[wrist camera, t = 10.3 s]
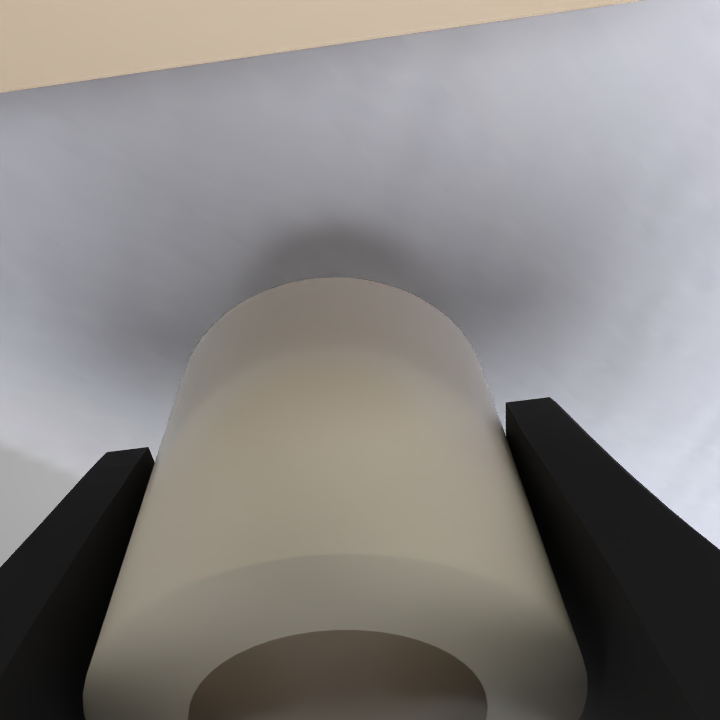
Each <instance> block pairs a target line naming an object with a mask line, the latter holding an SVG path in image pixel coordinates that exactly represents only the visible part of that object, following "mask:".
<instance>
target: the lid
mask: <svg viewBox="0 0 720 720" xmlns="http://www.w3.org/2000/svg"><path fill="white" fill-rule="evenodd" d="M635 1H642V0H0V93H2V92H9V91H16V90H23V89H30V88H37V87H44V86H51V85H58V84H65V83H72V82H79V81H86V80H93V79H100V78H107V77H114V76H121V75H128V74H135V73H141V72H148V71H155V70H162V69H169V68H176V67H183V66H190V65H197V64H204V63H211V62H218V61H225V60H232V59H239V58H246V57H253V56H260V55H267V54H274V53H280V52H287V51H294V50H301V49H308V48H315V47H322V46H329V45H336V44H343V43H350V42H357V41H364V40H371V39H378V38H385V37H392V36H399V35H406V34H413V33H420V32H426V31H433V30H440V29H447V28H454V27H461V26H468V25H475V24H482V23H489V22H496V21H503V20H510V19H517V18H524V17H531V16H538V15H545V14H552V13H559V12H565V11H572V10H579V9H586V8H593V7H600V6H607V5H614V4H621V3H628V2H635Z"/></svg>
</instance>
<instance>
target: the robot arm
mask: <svg viewBox="0 0 720 720" xmlns="http://www.w3.org/2000/svg"><path fill="white" fill-rule="evenodd" d="M506 438H507V441H508V444H509V447H510V450H511V453H512V456H513V459H514V461H515V464H516V467H517V470H518V473H519V476H520V479H521V482H522V484H523V487H524V490H525V493H526V496H527V499H528V502H529V504H530V507H531V510H532V513H533V516H534V519H535V522H536V525H537V527H538V530H539V533H540V536H541V539H542V542H543V545H544V548H545V550H546V553H547V556H548V559H549V562H550V565H551V568H552V571H553V573H554V576H555V579H556V582H557V585H558V588H559V591H560V594H561V596H562V599H563V602H564V605H565V608H566V611H567V614H568V617H569V619H570V622H571V625H572V628H573V631H574V634H575V637H576V640H577V642H578V645H579V648H580V651H581V654H582V657H583V661H584V665H585V668H586V672H587V696H586V701H585V705H584V710H583V712H582V714H581V717H580V719H579V720H720V549H718V548H717V547H716V546H715V545H713V544H712V543H711V542H709V541H708V540H707V539H706V538H704V537H703V536H702V535H701V534H699V533H698V532H697V531H696V530H694V529H693V528H692V527H691V526H690V525H688V524H687V523H686V522H685V521H684V520H682V519H681V518H680V517H679V516H678V515H676V514H675V513H674V512H673V511H672V510H670V509H669V508H668V507H667V506H666V505H665V504H664V503H662V502H661V501H660V500H659V499H658V498H657V497H656V496H654V495H653V494H652V493H651V492H650V491H649V490H648V489H647V488H645V487H644V486H643V485H642V484H641V483H640V482H639V481H637V480H636V479H635V478H634V477H633V476H632V475H631V474H630V473H629V472H627V471H626V470H625V469H624V468H623V467H622V466H621V465H620V464H619V463H618V462H617V461H616V460H614V459H613V458H612V457H611V456H610V455H609V454H608V453H607V452H606V451H605V450H604V449H603V448H602V447H601V446H600V445H599V444H598V443H597V442H596V441H595V440H594V439H593V438H592V437H590V436H589V435H588V434H587V433H586V432H585V431H584V430H583V429H582V428H581V427H580V426H579V425H578V424H577V423H576V422H575V421H574V420H573V419H572V418H571V417H570V416H569V415H568V414H567V413H566V412H565V411H564V410H563V409H562V408H561V407H560V406H559V405H558V404H557V403H556V402H555V401H554V400H552V399H551V398H550V397H547V398H539V399H531V400H523V401H515V402H507V403H506ZM154 464H155V462H154V460H153V457H152V455H151V452H150V450H149V447H145V448H137V449H129V450H121V451H113V452H107V453H106V454H105V455H104V456H103V457H102V458H101V459H100V460H99V461H98V462H97V463H96V464H95V465H94V466H93V467H92V468H91V469H90V470H89V471H88V472H87V473H86V474H85V476H84V477H83V478H82V479H81V480H80V481H79V482H78V483H77V484H76V485H75V487H74V488H73V489H72V490H71V491H70V492H69V493H68V494H67V495H66V496H65V498H64V499H63V500H62V501H61V502H60V503H59V504H58V506H57V507H56V508H55V509H54V510H53V511H52V512H51V513H50V514H49V515H48V516H47V517H46V519H45V520H44V521H43V522H42V523H41V524H40V525H39V526H38V527H37V528H36V530H35V531H34V532H33V533H32V534H31V535H30V536H29V537H28V538H27V539H26V540H25V541H24V542H23V544H22V545H21V546H20V547H19V548H18V549H17V550H16V551H15V552H14V553H13V554H12V555H11V557H10V558H9V559H8V560H7V561H6V562H5V563H4V564H3V565H2V566H1V567H0V720H86V719H85V716H84V709H83V690H84V685H85V680H86V675H87V672H88V669H89V666H90V663H91V659H92V656H93V653H94V650H95V647H96V644H97V641H98V638H99V635H100V631H101V628H102V625H103V622H104V619H105V616H106V613H107V610H108V607H109V604H110V600H111V597H112V594H113V591H114V588H115V585H116V582H117V579H118V576H119V573H120V569H121V566H122V563H123V560H124V557H125V554H126V551H127V548H128V545H129V541H130V538H131V535H132V532H133V529H134V526H135V523H136V520H137V517H138V514H139V510H140V507H141V504H142V501H143V498H144V495H145V492H146V489H147V486H148V483H149V479H150V476H151V473H152V470H153V467H154Z"/></svg>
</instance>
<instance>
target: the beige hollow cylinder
mask: <svg viewBox="0 0 720 720" xmlns="http://www.w3.org/2000/svg"><path fill="white" fill-rule="evenodd" d="M586 696H587V672H586V668H585V665H584V661H583V657H582V654H581V651H580V648H579V645H578V642H577V640H576V637H575V634H574V631H573V628H572V625H571V622H570V619H569V617H568V614H567V611H566V608H565V605H564V602H563V599H562V596H561V594H560V591H559V588H558V585H557V582H556V579H555V576H554V573H553V571H552V568H551V565H550V562H549V559H548V556H547V553H546V550H545V548H544V545H543V542H542V539H541V536H540V533H539V530H538V527H537V525H536V522H535V519H534V516H533V513H532V510H531V507H530V504H529V502H528V499H527V496H526V493H525V490H524V487H523V484H522V482H521V479H520V476H519V473H518V470H517V467H516V464H515V461H514V459H513V456H512V453H511V450H510V447H509V444H508V441H507V438H506V436H505V433H504V430H503V427H502V424H501V421H500V418H499V415H498V413H497V410H496V407H495V404H494V401H493V398H492V395H491V392H490V390H489V387H488V384H487V381H486V378H485V375H484V372H483V369H482V367H481V364H480V361H479V359H478V357H477V355H476V353H475V351H474V349H473V347H472V345H471V344H470V342H469V341H468V340H467V338H466V337H465V335H464V334H463V332H462V331H461V330H460V329H459V328H458V327H457V326H456V325H455V324H454V323H453V322H452V321H451V320H450V319H449V318H448V317H447V316H446V315H444V314H443V313H442V312H441V311H439V310H438V309H437V308H436V307H434V306H433V305H431V304H429V303H428V302H426V301H424V300H422V299H421V298H419V297H417V296H415V295H413V294H411V293H408V292H406V291H404V290H401V289H399V288H397V287H393V286H390V285H386V284H383V283H379V282H375V281H369V280H363V279H356V278H340V277H327V278H314V279H306V280H301V281H296V282H291V283H286V284H283V285H280V286H277V287H274V288H271V289H268V290H265V291H263V292H261V293H259V294H256V295H254V296H252V297H250V298H248V299H246V300H244V301H243V302H241V303H240V304H238V305H237V306H235V307H234V308H232V309H231V310H229V311H228V312H227V313H225V314H224V315H223V316H222V317H221V318H220V319H219V320H217V321H216V322H215V323H214V324H213V325H212V326H211V327H210V329H209V330H208V331H207V332H206V333H205V334H204V336H203V337H202V338H201V339H200V341H199V342H198V344H197V346H196V347H195V349H194V351H193V352H192V354H191V356H190V359H189V361H188V363H187V366H186V368H185V371H184V374H183V377H182V380H181V383H180V386H179V389H178V393H177V396H176V399H175V402H174V405H173V408H172V411H171V414H170V417H169V420H168V424H167V427H166V430H165V433H164V436H163V439H162V442H161V445H160V448H159V451H158V455H157V458H156V461H155V464H154V467H153V470H152V473H151V476H150V479H149V483H148V486H147V489H146V492H145V495H144V498H143V501H142V504H141V507H140V510H139V514H138V517H137V520H136V523H135V526H134V529H133V532H132V535H131V538H130V541H129V545H128V548H127V551H126V554H125V557H124V560H123V563H122V566H121V569H120V573H119V576H118V579H117V582H116V585H115V588H114V591H113V594H112V597H111V600H110V604H109V607H108V610H107V613H106V616H105V619H104V622H103V625H102V628H101V631H100V635H99V638H98V641H97V644H96V647H95V650H94V653H93V656H92V659H91V663H90V666H89V669H88V672H87V675H86V680H85V685H84V690H83V709H84V716H85V719H86V720H579V719H580V717H581V714H582V712H583V710H584V705H585V701H586Z"/></svg>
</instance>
